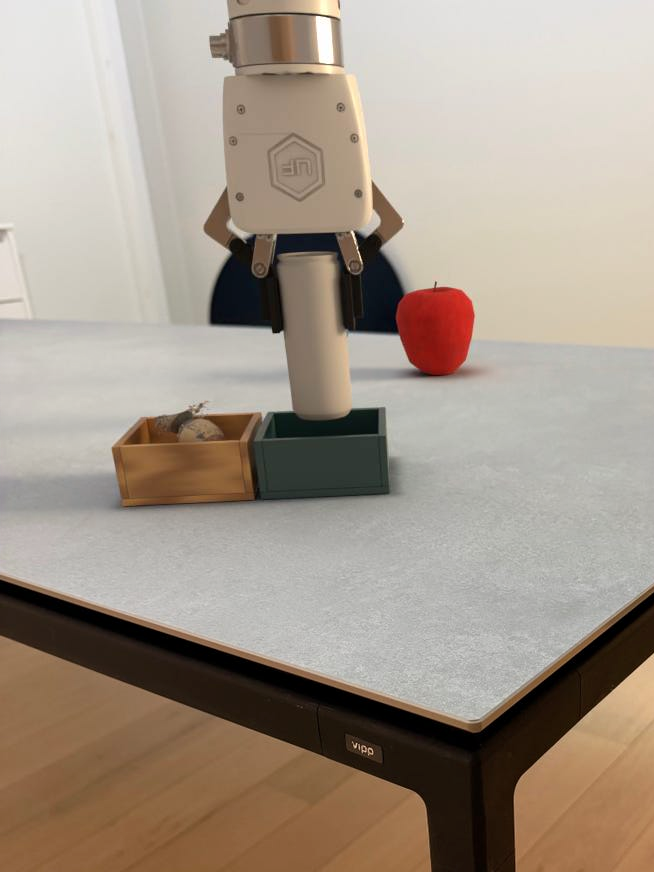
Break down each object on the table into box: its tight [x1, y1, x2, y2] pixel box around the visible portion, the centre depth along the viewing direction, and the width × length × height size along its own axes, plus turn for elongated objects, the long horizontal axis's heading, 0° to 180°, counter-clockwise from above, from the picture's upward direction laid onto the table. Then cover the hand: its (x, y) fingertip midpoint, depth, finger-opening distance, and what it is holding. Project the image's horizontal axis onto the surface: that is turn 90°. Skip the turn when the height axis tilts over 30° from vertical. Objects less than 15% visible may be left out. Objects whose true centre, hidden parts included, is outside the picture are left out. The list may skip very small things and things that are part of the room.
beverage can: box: [275, 251, 353, 421], centre depth 74 cm, size 5×5×12 cm
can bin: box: [254, 406, 391, 500], centre depth 78 cm, size 10×10×5 cm
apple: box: [395, 280, 476, 376], centre depth 117 cm, size 10×10×11 cm
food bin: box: [110, 411, 263, 507], centre depth 77 cm, size 10×10×5 cm
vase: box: [153, 400, 241, 443], centre depth 76 cm, size 5×5×6 cm
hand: (314, 327), depth 73 cm, fingers closed on beverage can, 4 cm apart
